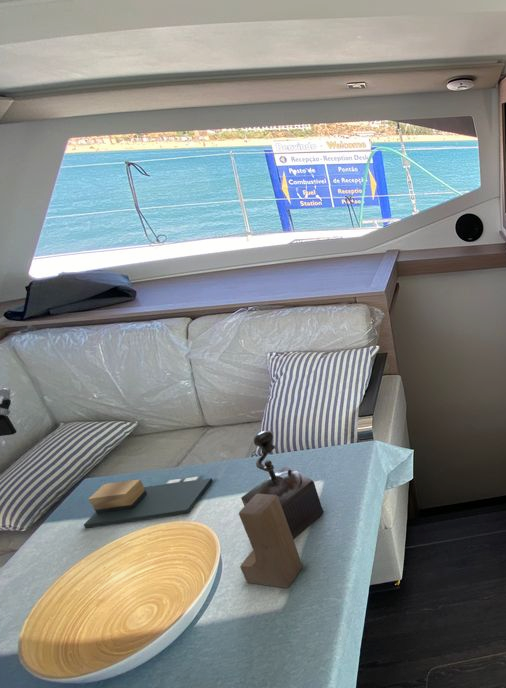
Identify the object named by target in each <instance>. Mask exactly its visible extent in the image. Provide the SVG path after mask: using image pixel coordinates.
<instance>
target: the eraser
mask: <svg viewBox="0 0 506 688" xmlns="http://www.w3.org/2000/svg"><path fill="white" fill-rule="evenodd" d="M144 487H145V486H144V484H143V482H142V480H141V479H140V478H139V479H132V480H125V481H117V482H109V483H104V484H103V485H102V486H101V487H99V488H98V489H97V490H96V491H95V492H94V493H93V494H92V495H91V496H90V497H89V498H88V501H89V503H90V505H91V506H92V508H93V510H94V511H95V513H97V514H98V513H106V512H113V511H120V510H127V509H134V508H135V506H136V505H137V504H138V503H139V502H140V501H141V500H142V499H143V498H144V497H145V496H146V495H147V492H146V490H145V488H144Z"/></svg>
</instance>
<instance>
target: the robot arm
mask: <svg viewBox="0 0 506 688" xmlns="http://www.w3.org/2000/svg"><path fill="white" fill-rule="evenodd" d="M11 404H12V400H11V389H10V388H0V437H4V436H12V435H15V434H16V433H17V430H16V428H15V426H14V424H13V423H12V421H11V419H10V418H9V415H10V414H11V410H10V407H11Z"/></svg>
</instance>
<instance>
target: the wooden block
mask: <svg viewBox="0 0 506 688" xmlns="http://www.w3.org/2000/svg"><path fill="white" fill-rule="evenodd" d="M238 516H239V518H240V521H241V523H242V526H243V528H244V531H245V533H246V536H247V538H248V541H249V543H250V545H251V548H252V551H251V552H250V553H249V555H247V557H246V558H245V559H244V561H243V562H242V563H241V564H240V566H239V568H240V571H241V573H242V574H243V577H244V579H245V582H246V583H249V584H254V585H255V584H256V585H262V586H270V587H276V588H277V587H278V588H284V589H288V588H289V587H290V586H291V584H292V583H293V581H294V580H295V579H296V577H297V576H298V574H299V573H300V571H301V570H302V568H303V562H302V560H301V557H300V554H299V552H298V548H297V547H296V543H295V540H294V539H293V537H292V534H291V532H290V529H289V526H288V523H287V520H286V517H285V515H284V512H283V509H282V506H281V503H280V501H279V498H278V496H277V495H269V494H256V495H255V496H254V497H253V498H252V499H251V500H250V501H249V502H248V503H247V504H246V505H245V506H244V505H243V508H242V509H241V510H239V512H238Z"/></svg>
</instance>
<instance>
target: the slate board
mask: <svg viewBox="0 0 506 688" xmlns="http://www.w3.org/2000/svg"><path fill="white" fill-rule="evenodd" d="M213 481H214V480H213V478H212V477H208V478H202V479H200V478H199V479H198V480H193V481H186V482H183V481H181V482H178V483H171V484H166V483H164V484H158V485H150V486H144V488H145V490H146V492H147V495H146V496H145V497H144V498H143V499H142V500H141V501H140V502H139V503H138V504H137V505H136V506H135V508H134V509H127V510H120V511H113V512H106V513H98V514H97V513H96V512H95V513H94V514H93V515H91V517H90V518H89V519H87V521H86V522H85V523H83V527H84V528H85V529H88V528H92V527H93V528H95V527H101V526H107V525H108V526H109V525H115V524H121V523H122V524H123V523H128V522H136V521H142V520H143V521H144V520H150V519H157V518H164V517H171V516H178V515H185V514H189V513H190V511H191V510H192V509H193V508H194V506H195V505H196V504H197V503H198V501H199V500H200V498H201V497H202V496H203V494H204V493H205V492H206V491H207V490H208V488H209V487H210V485H211V484H212V483H213Z"/></svg>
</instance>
